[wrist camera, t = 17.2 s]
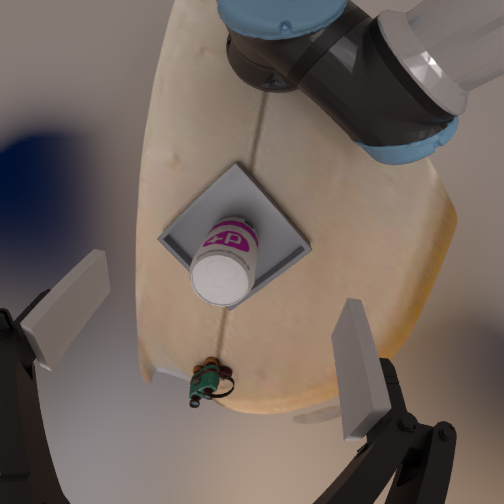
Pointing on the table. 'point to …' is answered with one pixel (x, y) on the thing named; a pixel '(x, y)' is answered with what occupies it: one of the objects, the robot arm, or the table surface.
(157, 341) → the table surface
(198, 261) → the supplement can
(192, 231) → the tray
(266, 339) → the table surface
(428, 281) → the table surface
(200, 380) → the binoculars
